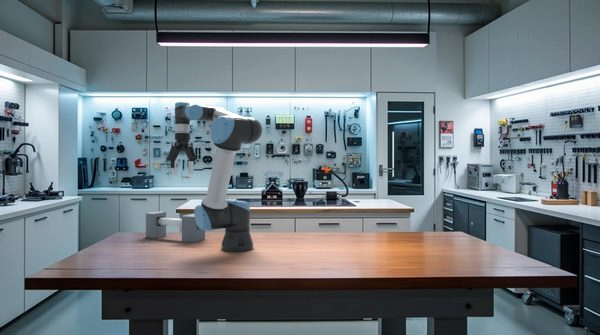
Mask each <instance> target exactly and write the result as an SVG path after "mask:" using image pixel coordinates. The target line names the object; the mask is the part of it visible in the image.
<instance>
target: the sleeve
mask: <svg viewBox="0 0 600 335" xmlns="http://www.w3.org/2000/svg"><path fill="white" fill-rule="evenodd" d="M181 219H182V227H181V241H182V242H188V243H197V242H200V241H204V240H205V239H206V230H205V231H203V230H201V229H199V227H198V226H197V224H196V221H195V217H194V213H191V214H185V215H181Z"/></svg>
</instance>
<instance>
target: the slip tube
mask: <svg viewBox="0 0 600 335" xmlns="http://www.w3.org/2000/svg"><path fill="white" fill-rule="evenodd" d="M157 225H166V227H167V226H169V227H170V226H171V227H181V228H182V218H174V217H173V218H172V217H171V218H170V217H166V218H161V217H157Z"/></svg>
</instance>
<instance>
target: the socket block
mask: <svg viewBox="0 0 600 335" xmlns="http://www.w3.org/2000/svg"><path fill="white" fill-rule="evenodd" d="M157 217H161V218H167V212H166V211H160V210H159V211H158V210H157V211H152V212H147V213H146V212H145V237H146V238H147V239H157V238H160V237H164V236H166V235H167V225H157Z"/></svg>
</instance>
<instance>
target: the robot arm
mask: <svg viewBox="0 0 600 335" xmlns="http://www.w3.org/2000/svg"><path fill="white" fill-rule="evenodd" d="M191 121H202V122H212V124H211V127H210V134H211V135H210V138H211V141H212V142H213V146H214V147H215V153H214V158H213V162H212V163H213V164H212V168H211V171H210V172H211V173H210V176H209V182H208V186H207V191H206V196H204V197H203V198H202V199H201V204H197V205H196V206H195V207H194V211H193V214H194V217H195V221H196V224H197V226H198V227H199V229H201V230H203V231H205V232H206V231H213V230H222V229H225V230H224V234H223V238H222V241H221V250H222V251H226V252H231V253H232V252H235V253H236V252H237V253H238V252H246V251H251V250H253V249H254V242H253V238H252V235H251V229H250V228H251V226H250V223H251V221H250V218H251V217H250V216H251V214H250V213H251V209H250V203H249V202H248V201H246V200H245V201H244V200H237V199H236V200H235V199H226V198H227V194H228V190H229V187H230V186H229V185H230V180H231V176H232V171H233V169H234V163H235V159H236V154H237V153H238V152H239V151H241V149H242V145H243V144H244V145H247V144H248V145H249V144H254V143H256V142H258V140H260V138H261V137H262V135H263V126H262V123H261V122H260V121H259V120H258V119H256V118H253V117H250V116H241V115H239V114H236V113H233V112H230V111H227V110H226V109H225V108H224V107H220V106H207V105H199V104H197V103H191V104H190V103H189V102H187V101H177V102H175V103H174V140H175V141H171V147H170V150H169V153H168V155H167V161H168V162H170V175H172V176H173V175H174V176H175V175H177V161H176V160H177V158H178V156H179V154H180V153H181V152H183V153H185V155H186V157H187V159H188V163H187V164H188V166H187V168H188V170H187V171H188V172H187V173H188V175H189V174H192V175H193V174H194V167H195V163H194V162H196V161H197V156H196V155H197V154H196V152H195V149H194V144H193V142H189V141H190V140H191V134H190V132H191Z"/></svg>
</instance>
